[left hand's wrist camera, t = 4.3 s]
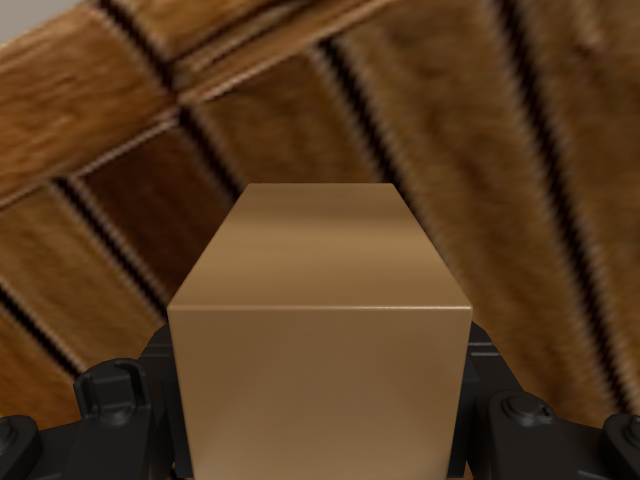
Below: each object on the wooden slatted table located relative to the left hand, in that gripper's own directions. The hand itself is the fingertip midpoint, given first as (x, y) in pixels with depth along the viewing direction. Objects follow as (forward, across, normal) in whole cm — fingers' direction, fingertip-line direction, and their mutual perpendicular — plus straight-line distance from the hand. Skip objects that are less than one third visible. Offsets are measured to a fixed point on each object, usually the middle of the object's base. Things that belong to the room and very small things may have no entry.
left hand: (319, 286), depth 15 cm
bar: (+1, 0, -8) cm, 8 cm away
